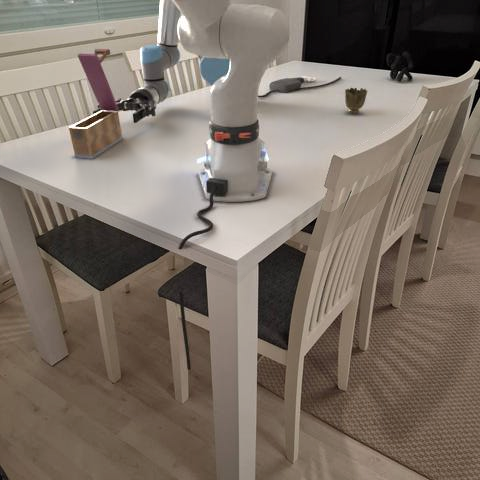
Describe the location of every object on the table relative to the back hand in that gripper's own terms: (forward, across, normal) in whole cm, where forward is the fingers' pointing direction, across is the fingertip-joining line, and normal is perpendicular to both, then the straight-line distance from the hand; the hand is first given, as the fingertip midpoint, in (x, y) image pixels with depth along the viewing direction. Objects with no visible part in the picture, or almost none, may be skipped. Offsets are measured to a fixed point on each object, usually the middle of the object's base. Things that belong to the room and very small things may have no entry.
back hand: (114, 117), depth 138 cm
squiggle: (-97, -89, -6) cm, 132 cm away
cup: (-41, -71, -6) cm, 82 cm away
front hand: (+6, +1, +32) cm, 33 cm away
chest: (+10, +1, -6) cm, 12 cm away
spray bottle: (-77, -44, -6) cm, 89 cm away
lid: (+5, +1, +11) cm, 12 cm away
